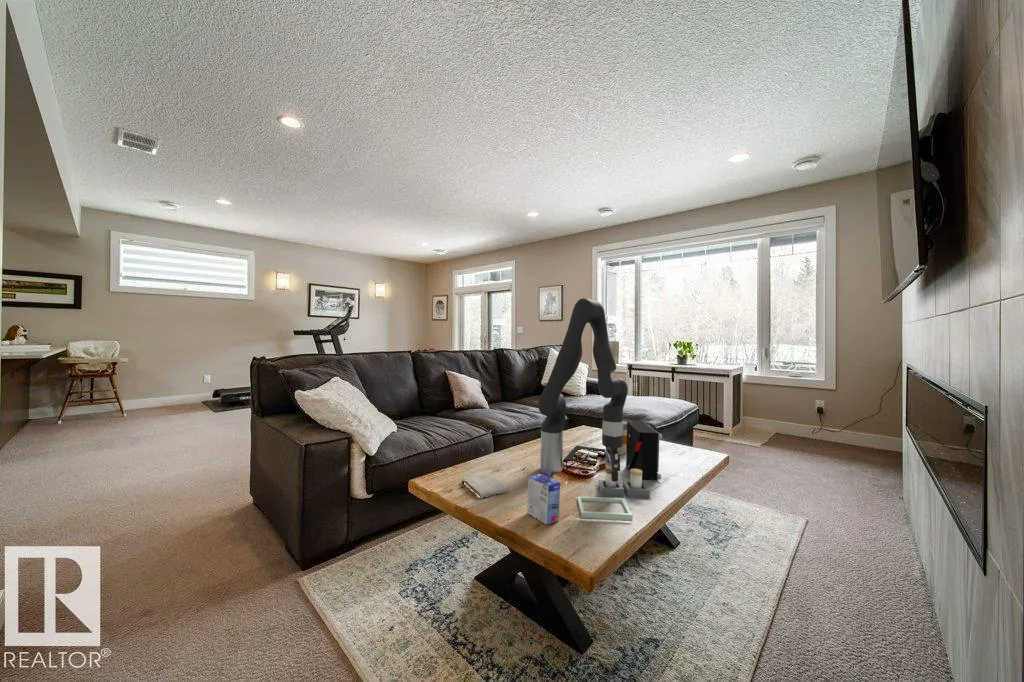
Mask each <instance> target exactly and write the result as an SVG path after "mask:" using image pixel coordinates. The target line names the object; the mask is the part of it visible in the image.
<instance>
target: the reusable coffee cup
mask: <svg viewBox="0 0 1024 682" xmlns="http://www.w3.org/2000/svg"><path fill="white" fill-rule="evenodd" d="M627 422H633V421H632V420H630V419H627V418H626V419H625V418H623V446H622V447H621V448H618V449H617V450H618V452H619V454H620V455H626V445H627Z"/></svg>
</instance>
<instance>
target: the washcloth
mask: <svg viewBox="0 0 1024 682" xmlns="http://www.w3.org/2000/svg"><path fill="white" fill-rule="evenodd" d="M462 480H463V482H465V483H466V484H467V485H468V486H469V487H470V488H471V489H472V490H473V491H474V492H475V493H477V494H478V495H479V496H480V498H479V499H483V498H482V497H487V496H490V495H494V496H496V495H495V494H500V495H502V494H501V493H503V494H507V493H508V492H509V490H508V487H507V486H506V485H504V484H503V483H501V481H500V480H498V479H497V478H496V477H494V476H493V475H491V474H490V473H488V472H483V473H480V474H475V475H474V474H472V475H471V474H470V475H468V476H463V478H462ZM463 482H462V483H463ZM506 492H507V493H506ZM490 497H491V496H490ZM487 498H488V497H487Z"/></svg>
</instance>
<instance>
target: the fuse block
mask: <svg viewBox="0 0 1024 682" xmlns="http://www.w3.org/2000/svg"><path fill="white" fill-rule="evenodd" d="M629 472H630V475H629V476H630V479H629V480H622V483H621V481H620V480H618V481H617V488H614V487H605V479H597V480H598V484H594V487H595V489H596V492H597V495H598V497H605V498H624V499H628V500H629V499H633V500H652V498H651V490H650V488H649V487H648V485H647V484H646V483H645V481H643V480H642V470H640V469H630V471H629Z"/></svg>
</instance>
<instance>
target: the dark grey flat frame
mask: <svg viewBox="0 0 1024 682" xmlns="http://www.w3.org/2000/svg"><path fill="white" fill-rule="evenodd" d="M581 449H587V450H593V451H602V452H605V453H606V448H596V447H591V446H590V447H589V446H584V445H575V446H574V447H573V449H572V450H571V451H570V452H569V453H568V454H567V455H566V456H565V457H564V458H562V463H563V462H566V461H576V462H580V463H586V464H589V465H593V466H595V465H596V463H597V461H590V462H583V461H580V460H574V459H573V457H574V455H575V453H576V452H577V451H578V450H581Z"/></svg>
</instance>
